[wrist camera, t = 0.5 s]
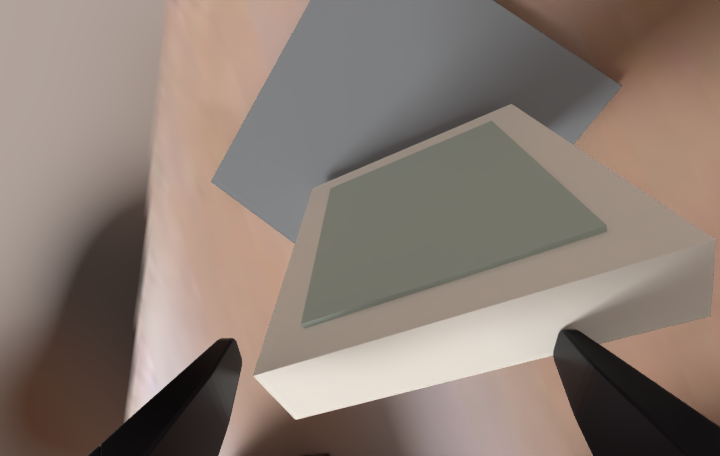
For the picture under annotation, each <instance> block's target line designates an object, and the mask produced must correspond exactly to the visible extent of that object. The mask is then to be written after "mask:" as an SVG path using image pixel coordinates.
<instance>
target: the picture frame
mask: <svg viewBox="0 0 720 456" xmlns="http://www.w3.org/2000/svg"><path fill="white" fill-rule="evenodd" d="M715 249H716V239H714V238H713V237H711V236H710V235H708V234H707V233H705V232H704V231H702V230H701V229H699V228H698V227H696V226H695V225H693V224H692V223H690V222H689V221H687V220H686V219H684V218H683V217H681V216H680V215H678V214H677V213H675V212H674V211H672V210H671V209H669V208H668V207H666V206H665V205H663V204H662V203H660V202H659V201H657V200H656V199H654V198H653V197H651V196H650V195H648V194H647V193H645V192H643V191H642V190H640V189H639V188H637V187H636V186H634V185H633V184H631V183H630V182H628V181H627V180H625V179H624V178H622V177H621V176H619V175H618V174H616V173H615V172H613V171H612V170H610V169H609V168H607V167H606V166H604V165H603V164H601V163H600V162H598V161H597V160H595V159H594V158H592V157H591V156H589V155H588V154H586V153H585V152H583V151H582V150H580V149H579V148H577V147H576V146H574V145H573V144H571V143H570V142H568V141H567V140H565V139H564V138H562V137H561V136H559V135H558V134H556V133H555V132H553V131H552V130H550V129H549V128H547V127H546V126H544V125H543V124H541V123H540V122H538V121H537V120H535V119H534V118H532V117H531V116H529V115H528V114H526V113H525V112H523V111H522V110H520V109H519V108H517V107H516V106H514V105H513V104H510V105H507V106H505V107H503V108H500V109H498V110H496V111H493V112H491V113H488V114H486V115H484V116H481V117H479V118H477V119H474V120H472V121H470V122H467V123H465V124H463V125H460V126H458V127H455V128H453V129H451V130H448V131H446V132H444V133H441V134H439V135H437V136H434V137H432V138H430V139H427V140H425V141H423V142H420V143H418V144H415V145H413V146H411V147H408V148H406V149H404V150H401V151H399V152H397V153H394V154H392V155H390V156H387V157H385V158H383V159H380V160H378V161H375V162H373V163H371V164H368V165H366V166H364V167H361V168H359V169H357V170H354V171H352V172H350V173H347V174H345V175H343V176H340V177H338V178H335V179H333V180H331V181H328V182H326V183H324V184H321V185H319V186H317V187H314V188H313V189H312V192H311V195H310V198H309V202H308V205H307V208H306V211H305V214H304V217H303V220H302V224H301V227H300V230H299V233H298V236H297V239H296V243H295V246H294V249H293V252H292V255H291V258H290V261H289V265H288V268H287V271H286V274H285V277H284V280H283V283H282V287H281V290H280V293H279V296H278V299H277V302H276V305H275V309H274V312H273V315H272V318H271V321H270V324H269V328H268V331H267V334H266V337H265V340H264V343H263V346H262V350H261V353H260V356H259V359H258V362H257V365H256V368H255V372H254V375H253V376H254V377H255V378H256V379H257V381H258V382H259V383H260V384H261V385H262V386H263V387H264V388H265V389H266V390H267V391H268V392H269V393H270V394H271V395H272V396H273V397H274V398H275V399H276V400H277V401H278V402H279V403H280V404H281V405H282V406H283V407H284V409H285V410H286V411H287V412H288V413H289V414H290V415H291V416H292V417H293V418H294V419H295V420H297V419H301V418H305V417H309V416H313V415H317V414H321V413H325V412H329V411H333V410H337V409H341V408H345V407H349V406H353V405H357V404H361V403H365V402H369V401H373V400H377V399H381V398H385V397H389V396H393V395H397V394H401V393H405V392H409V391H413V390H417V389H421V388H425V387H429V386H433V385H437V384H441V383H445V382H449V381H453V380H457V379H461V378H465V377H469V376H473V375H477V374H481V373H485V372H489V371H493V370H497V369H501V368H505V367H509V366H513V365H517V364H521V363H525V362H529V361H533V360H537V359H541V358H545V357H549V356H553V351H554V347H555V343H556V340H557V336H558V333H559V332H560V331H561V330H565V329H576V330H579V331H580V332H582V333H583V334H585V335H586V336H588V337H589V338H591V339H592V340H594V341H595V342H597V343H598V344H601V343H605V342H609V341H613V340H617V339H621V338H625V337H629V336H633V335H637V334H641V333H645V332H649V331H653V330H657V329H661V328H665V327H669V326H673V325H677V324H681V323H685V322H689V321H693V320H697V319H701V318H705V317H709V316H711V305H712V291H713V277H714V263H715Z"/></svg>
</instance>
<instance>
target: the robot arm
mask: <svg viewBox="0 0 720 456" xmlns="http://www.w3.org/2000/svg"><path fill="white" fill-rule="evenodd" d="M553 357H554V361H555V364H556V367H557V369H558V372H559V375H560V378H561V381H562V383H563V386H564V389H565V392H566V394H567V397H568V400H569V403H570V406H571V408H572V411H573V413H574V416H575V418H576V420H577V423H578V425H579V427H580V429H581V431H582V433H583V435H584V437H585V440H586V442H587V444H588V446H589V448H590V450H591V452H592V454H593V456H720V427H719V426H718V425H716V424H715V423H714V422H712V421H711V420H709V419H708V418H706V417H705V416H703V415H702V414H700V413H699V412H697V411H696V410H695V409H693V408H692V407H690V406H689V405H687V404H686V403H684V402H683V401H681V400H680V399H678V398H677V397H676V396H674V395H673V394H671V393H670V392H668V391H667V390H665V389H664V388H662V387H661V386H659V385H658V384H656V383H655V382H654V381H652V380H651V379H649V378H648V377H646V376H645V375H643V374H642V373H640V372H639V371H637V370H636V369H635V368H633V367H632V366H630V365H629V364H627V363H626V362H624V361H623V360H621V359H620V358H618V357H617V356H616V355H614V354H613V353H611V352H610V351H608V350H607V349H605V348H604V347H602V346H601V345H599V344H598V343H597V342H595V341H594V340H592V339H591V338H589V337H588V336H586V335H585V334H583V333H582V332H580V331H579V330H576V329H565V330H561V331H560V332H559V333H558V336H557V340H556V343H555V347H554V351H553ZM241 367H242V358H241V355H240V352H239V348H238V345H237V342H236V340H235V339H233V338H221V339H219V340H217V341H216V342H215V343H214V344H213V345H212V346H210V347H209V348H208V349H207V350H206V351H205V352H204V353H203V354H201V355H200V356H199V357H198V358H197V359H196V360H195V361H194V362H192V363H191V364H190V365H189V366H188V367H187V368H186V369H185V370H183V371H182V372H181V373H180V374H179V375H178V376H177V377H176V378H174V379H173V380H172V381H171V382H170V383H169V384H168V385H167V386H165V387H164V388H163V389H162V390H161V391H160V392H159V393H158V394H156V395H155V396H154V397H153V398H152V399H151V400H150V401H149V402H147V403H146V404H145V405H144V406H143V407H142V408H141V409H140V410H138V411H137V412H136V413H135V414H134V415H133V416H132V417H131V418H129V419H128V420H127V421H126V422H125V423H124V424H123V425H122V426H120V428H118V429H117V430H116V431H115V432H114V433H113V434H111V435H110V436H109V437H108V438H107V439H106V440H105V441H104V442H102V444H101V446H98V447H97V448H96V449H95V450H93V451H92V452H91V453H90V454H89V455H88V456H218V455H219V452H220V449H221V446H222V443H223V440H224V437H225V434H226V431H227V428H228V424H229V421H230V417H231V413H232V408H233V404H234V399H235V395H236V390H237V386H238V381H239V377H240V372H241Z"/></svg>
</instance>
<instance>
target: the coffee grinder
mask: <svg viewBox="0 0 720 456" xmlns="http://www.w3.org/2000/svg"><path fill="white" fill-rule="evenodd" d="M305 456H330V455H329V454H318V455H305Z"/></svg>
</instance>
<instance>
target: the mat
mask: <svg viewBox="0 0 720 456" xmlns="http://www.w3.org/2000/svg"><path fill="white" fill-rule="evenodd" d="M621 87H622V86H621V85H620V84H618V83H617V82H615V81H614V80H612V79H611V78H609V77H608V76H606V75H605V74H603V73H602V72H600V71H599V70H597V69H596V68H594V67H593V66H591V65H590V64H588V63H587V62H585V61H584V60H582V59H581V58H579V57H578V56H576V55H575V54H573V53H572V52H570V51H569V50H567V49H566V48H564V47H563V46H561V45H560V44H558V43H557V42H555V41H554V40H552V39H551V38H549V37H547V36H546V35H544V34H543V33H541V32H540V31H538V30H537V29H535V28H534V27H532V26H531V25H529V24H528V23H526V22H525V21H523V20H522V19H520V18H519V17H517V16H516V15H514V14H513V13H511V12H510V11H508V10H507V9H505V8H504V7H502V6H501V5H499V4H498V3H496V2H495V1H493V0H310V2H309V4H308V6H307V8H306V9H305V11H304V13H303V15H302V17H301V19H300V20H299V22H298V24H297V26H296V28H295V29H294V31H293V33H292V35H291V37H290V39H289V40H288V42H287V44H286V46H285V48H284V49H283V51H282V53H281V55H280V57H279V59H278V60H277V62H276V64H275V66H274V68H273V69H272V71H271V73H270V75H269V77H268V79H267V80H266V82H265V84H264V86H263V88H262V90H261V91H260V93H259V95H258V97H257V99H256V100H255V102H254V104H253V106H252V108H251V110H250V111H249V113H248V115H247V117H246V119H245V120H244V122H243V124H242V126H241V128H240V130H239V131H238V133H237V135H236V137H235V139H234V140H233V142H232V144H231V146H230V148H229V150H228V151H227V153H226V155H225V157H224V159H223V160H222V162H221V164H220V166H219V168H218V170H217V171H216V173H215V175H214V177H213V179H212V181H211V182H212V183H213V184H215V185H216V186H217V187H219V188H220V189H222V190H223V191H224V192H226V193H227V194H228V195H230V196H231V197H232V198H234V199H235V200H236V201H238V202H239V203H240V204H242V205H243V206H245V207H246V208H247V209H249V210H250V211H251V212H253V213H254V214H255V215H257V216H258V217H259V218H261V219H262V220H264V221H265V222H266V223H268V224H269V225H270V226H272V227H273V228H274V229H276V230H277V231H278V232H280V233H281V234H282V235H284V236H285V237H287V238H288V239H289V240H291V241H292V242H293V243H296V239H297V236H298V233H299V230H300V227H301V224H302V220H303V217H304V214H305V211H306V208H307V205H308V202H309V198H310V195H311V192H312V189H313V188H314V187H317V186H319V185H321V184H324V183H326V182H328V181H331V180H333V179H335V178H338V177H340V176H343V175H345V174H347V173H350V172H352V171H354V170H357V169H359V168H361V167H364V166H366V165H368V164H371V163H373V162H375V161H378V160H380V159H383V158H385V157H387V156H390V155H392V154H394V153H397V152H399V151H401V150H404V149H406V148H408V147H411V146H413V145H415V144H418V143H420V142H423V141H425V140H427V139H430V138H432V137H434V136H437V135H439V134H441V133H444V132H446V131H448V130H451V129H453V128H455V127H458V126H460V125H463V124H465V123H467V122H470V121H472V120H474V119H477V118H479V117H481V116H484V115H486V114H488V113H491V112H493V111H496V110H498V109H500V108H503V107H505V106H507V105H510V104H513V105H514V106H516V107H517V108H519V109H520V110H522V111H523V112H525V113H526V114H528V115H529V116H531V117H532V118H534V119H535V120H537V121H538V122H540V123H541V124H543V125H544V126H546V127H547V128H549V129H550V130H552V131H553V132H555V133H556V134H558V135H559V136H561V137H562V138H564V139H565V140H567V141H568V142H570V143H571V144H574V143H575V142H576V141H577V139H578V138H579V137H580V136H581V135H582V133H583V132H584V131H585V130H586V129H587V127H588V126H589V125H590V124H591V123H592V121H593V120H594V119H595V118H596V117H597V115H598V114H599V113H600V112H601V111H602V109H603V108H604V107H605V106H606V105H607V103H608V102H609V101H610V100H611V99H612V97H613V96H614V95H615V94H616V93H617V91H618V90H619V89H620V88H621Z"/></svg>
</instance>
